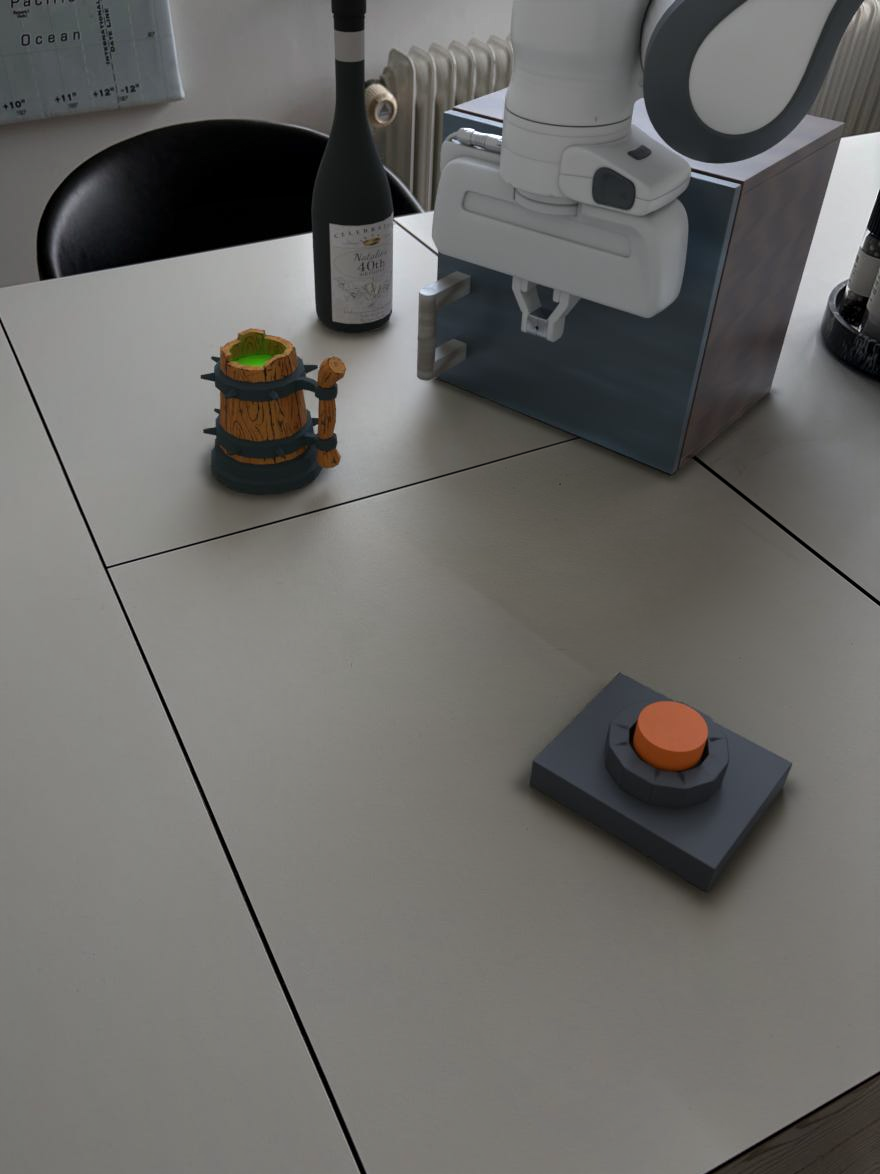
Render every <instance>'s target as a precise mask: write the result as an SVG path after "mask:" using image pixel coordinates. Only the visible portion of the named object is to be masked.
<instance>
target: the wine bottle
mask: <svg viewBox="0 0 880 1174" xmlns="http://www.w3.org/2000/svg"><path fill="white" fill-rule="evenodd" d="M330 1H331V3H330V9H331V14H332V19H333V40H334V41H333V42H334V69H335V70H334V73H335V75H334V76H335V77H334V78H335V106H334V115H333V120H332V126H331V129H330V133H329V136H328V138H327V139H328V140H327V143H326V147H325V148H324V152H323V154H322V157H321V160H320V164H319V167H318V170H317V172H316V177H315V180H314V185H313V190H312V199H311V209H310V210H311V211H310V213H311V237H312V256H313V257H312V258H313V279H314V280H313V281H314V302H315V312H316V316H317V319H318V321H320V322H321V323H322V324H323V326H325V327H327V328H328V329H330V330H333V331H336V332H339V333H345V334H362V333H363V334H364V333H367V332H368V333H370V332H372V331H375V330H379V329H380V328H382V327H383V326H385V325H386V324H387V323H388V322H389V320H390V318H391V316H392V313H393V301H394V299H393V297H394V295H393V293H394V288H393V287H394V205H393V204H394V203H393V197H392V191H391V186H390V182H389V179H388V175H387V172H386V170H385V167H384V164H383V161H382V159H381V156H380V153H379V151H378V147H377V145H376V142H375V138H374V136H373V133H372V130H371V126H370V123H369V118H368V112H367V106H366V81H365V80H366V78H365V77H366V74H365V73H366V72H365V71H366V68H365V66H366V65H365V64H366V61H365V56H366V55H365V53H366V52H365V50H366V49H365V44H366V42H365V40H366V38H365V37H366V36H365V33H366V32H365V28H366V26H365V23H366V22H365V21H366V20H365V19H366V15H365V14H367V0H330Z"/></svg>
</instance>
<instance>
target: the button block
mask: <svg viewBox="0 0 880 1174" xmlns="http://www.w3.org/2000/svg"><path fill="white" fill-rule="evenodd" d="M661 701H672V702H677V703H681V704H684V705H686V706H688V707H690V708H692V709H694V710H695V711H696V712H698V713H699V714H700V715H701V716H702V717H703V719H704V720H705V722H706V724H707V727H708V737H707V740H706V743H705V746H704V750H703V753H702V756H701V758H700V760H699V762H698V763H697V764H696V765H695V766H693V767H692V768H690V769H687V770H684V771H679V772H672V771H665V770H660V769H657V768H655V767H653V766H651V765H649V764H647V763H646V762H645V761H643V760H642V759H641V758H640V757H639V755H638V754H637V752H636V750H635V748H634V745H633V737H634V733H635V729H636V725H637V721H638V717H639V715H640V713H641V711H642V710H643V709H644V708H645V707H647V706H648V705H650V704H652V703H655V702H661ZM792 766H793V762H792V761H789V760H787V759H786V758H783V757H782V756H780V755H778V754H776V753H774V752H773V751H770V750H769V749H767V748H765V747H762V746H761V745H759V744H757V743H755V742H754V741H752V740H749V739H748V738H745V737H744V736H742V735H740V734H739V733H736V732H734V731H732V730H730V729H729V728H727V727H724V726H723V725H721V724H719V723H717V722H716V721H714V720H713V718H712V717H711V716H709V715H708V714H706V713H704V712H702V711H701V710H698V709H696V708H694V707H693V706H691V705H689V704H687V703H685V702H683V701H678V700H677V701H676V700H673V699H671V698H669V697H668V696H666V695H664V694H662V693H660V692H658V691H657V690H654V689H653V688H650V687H649V686H647V685H645V684H643V683H641V682H639V681H637V680H635V679H633V678H631V677H629V676H628V675H626V674H624V673H622V672H618V673H617V674H616V675H615V676H614V678H612V679H611V681H609V682H608V683H607V685H605V687H604V688H602V689H601V690H600V691H599V693H597V695H596V696H595V697H594V698H593V699H592V700H591V701H590V702H589V703H588V704H586V706H585V707H584V708H583V709H582V710H581V711H580V712H579V713H578V714H577V715H576V716H575V717H574V718H573V719H572V720H571V721H570V722H569V723H568V724H567V726H565V728H563V730H561V732H560V733H558V735H556V736H555V737H554V739H553V740H552V741H550V743H549V744H547V746H546V747H545V748H544V749H543V750H542V751H541V752H539V754H538V755H537V756H536V757H535V758H534V759H533V760H532V765H531V770H530V771H531V772H530V778H529V785H531V786H532V787H533V788H535V789H537V790H539V791H540V792H542V793H543V794H545V795H547V796H548V797H550V798H551V799H553V800H555V801H557V802H558V803H560V804H562V805H563V806H565V807H567V809H569V810H571V811H572V812H575V813H577V814H578V815H579V816H581V817H583V818H584V819H585V820H588V821H589V822H591V823H593V824H594V825H596V826H597V827H599V828H601V829H602V830H604V831H606V832H607V833H609V834H610V835H612V836H613V837H615V838H617V839H619V840H620V841H622V842H624V843H625V844H627V845H628V846H630V847H631V848H633V849H635V850H637V851H638V852H640V853H641V854H643V855H645V856H646V857H648V858H650V859H651V860H653V861H654V862H656V863H658V864H659V865H661V866H662V867H664V868H666V869H668V870H669V871H671V872H673V873H674V874H676V875H678V876H679V877H680V878H682V879H684V880H685V881H688V882H689V883H691V884H692V885H694V886H695V887H697V888H699V889H700V890H702V891H704V892H706V893H707V892H708V891H709V890H710V888H711V887H712V886H713V884H714V883H715V881H716V880H717V879H718V877H719V876H720V875H721V873H722V872H723V870H724V869H725V868H726V866H727V865H728V863H730V861H731V859H732V858H733V857H734V855H735V854H736V853H737V851H738V850H739V848H740V847H741V846H742V844H743V843H744V841H745V840H746V839H747V837H748V836H749V835H750V833H751V832H752V831H753V830H754V828H755V826H756V825H757V823H758V822H759V821H760V819H761V818H762V817H763V815H764V814H765V813H766V811H767V810H768V809H769V807H770V806H771V804H772V803H773V801H774V800H775V799H776V798H777V796H778V794H780V792H781V790H782V789H783V788H784V786H785V784H786V781H787V779H788V777H789V774H790V772H791V769H792Z"/></svg>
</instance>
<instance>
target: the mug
mask: <svg viewBox="0 0 880 1174" xmlns="http://www.w3.org/2000/svg"><path fill="white" fill-rule="evenodd" d="M210 360H212V361H213V362H215V365H214V366H213V372H210V373H204V374H200V380H205V381H210V382H214V387H215V388H216V389H217V390H218V391H219V408H216V407H215V408H214V409H213V412H214V413H216V414H218V415H217V417H216V418H215V426H213V427H209V428H204V429H202V433H203V434H207V435H212V436H215V439H214V447H213V448H212V449H211V452H210V453H211V455H210V466H211V472H212V473H213V475H214V476H215V478H216V479H217V481H218V482H219V483H220V484H222V485H224V486H226V487H228V488H230V489H232V490H233V491H236V492H239V493H241V492H242V493H246V494H251V495H252V494H253V495H256V496H257V495H279V494H283V493H287V492H291V491H293V490H297V489H300V488H302V487H303V486H305V485H308V483H310V482H311V481H313V480H315V479H316V478H317V476H319V473H320V472H321V470H322V469H330V468H335V467H337V466H339V464H340V462H341V459H342V456H341V454H340V452H339V450H338V449H337V447H338V443H339V442H338V436H337V433H335V428H336V423H337V405H336V403H337V402H336V399H337V397H338V393H339V390H338V389H339V388H338V387H339V386H338V383H337V382H339V381H340V380H342V379H344V377H345V375H346V371H347V367H346V364H345V362H344V361H343V360H342V359H341V358H340V357H337V356H334V355H333V356H329V357H325V358H324V359H323V360H322V362H321V363H320V366H319V365H318V364H305V363H304V360H303V358H301V357H300V356H299V355H298V354H297V350H296V346H295V345H294V344H293V343H292V342H291V341H290V340H288V339H287V338H282V337H281V336H277V335H270V334H266V331H265V329H259V328H253V327H252V328H251V327H250V328H248V329H245V330H243V331H240V332H238V333H237V338H235V339H232V340H231V341H228V342H226V343H225V344H224V345H220V346H219V356H214V355H211V357H210ZM316 370H318V372H317V380H315V379H314V378H311V377H307V374H308V373H312V372H313V371H316ZM304 391H308V392H311V393H313V394H314V397H315V398H316V399H318V406H317V407H318V411H317V417H312V414H311V411H310V410H309V409H308V408H307V405H306V399H305V395H304ZM316 426H317V433H315V428H314V427H316Z"/></svg>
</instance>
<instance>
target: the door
mask: <svg viewBox="0 0 880 1174" xmlns="http://www.w3.org/2000/svg"><path fill="white" fill-rule="evenodd" d="M460 128H471V129H474V130H476V131H477V132H480V133H485V134H495V135H499V136H502V129H503V123H500V122H496V121H492V120H488V119H484V118H480V117H476V116H472V115H469V114H465V113H461V112H457V111H453V110H452V109H449V110H445V111H443V113H442V136H441V139H442V140H441V145H442V144H443V142H444V141H445V139H446V138H447V137H448V136H449V135H450V134H452V133H454V132H458V130H459V129H460ZM453 140H457V138H454V139H453ZM741 186H742V185H741V184H737V183H733V182H729V181H725V180H721V179H717V178H713V177H710V176H706V175H702V174H698V173H694V172H691V177H690V181H689V185H688V187H687V188H686V190H685V191H684V192H683V193H682V194H681V195H679V196H678V197H677V199H678V200H679V201H680V202H681V203H682V205H683V206H684V208H685V210H686V213H687V218H688V243H687V253H686V262H685V269H684V275H683V280H682V285H681V289H680V292H679V295H678V296H677V298H676V299H675V300H674V302H673V303H671V304H670V305H669V306H668V307H667V308H665V309H664V310H663V311H661V312H659V313H658V314H656V315H655V316H653V317H651V318H644V317H640V316H637V315H634V314H631V313H628V312H625V311H622V310H619V309H615V308H612V307H609V306H606V305H603V304H600V303H596V302H593V301H590V300H587V299H584V298H581V299H580V300H579V301H578V302H577V304H576V305H575V306H574V307H573V308H572V310H571V311H570V312H569V313H568V315H567V316H565V323H564V330H563V334H562V336H561V337H560V338H559V339H558V340H556V341H555V342H551V341H548V340H545V339H542V338H540V337H537V336H534V335H531V334H527V333H524V332H522V331H521V324H522V313H523V312H521V310H520V307H519V305H518V302H517V300H516V297H515V295H514V292H513V290H512V281H513V276H511V275H508V274H505V273H502V272H498V271H495V270H492V269H489V268H486V267H483V266H479V265H476V264H473V263H470V262H467V261H464V260H461V259H457V258H454V257H451V256H448V255H445V254H442V253H440V252H439V251H438V250H437V266H436V268H437V269H436V270H437V273H436V281H434V282H432V283H430V284H428V285H425V286H424V287H422V288H420V289H419V291H418V311H417V312H418V313H417V314H418V316H417V350H416V351H417V353H416V354H417V357H416V377H417V379H419V380H421V381H431V380H433V379H435V378H437V379H439V380H442V381H444V382H447V383H449V384H451V385H454V386H456V387H459V388H462V389H463V390H465V391H468V392H471V393H473V394H476V395H478V396H481V397H482V398H485V399H488V400H490V401H492V402H495V403H497V404H499V405H502V406H504V407H507V408H509V409H512V410H514V411H516V412H518V413H521V414H524V415H526V416H529V417H531V418H533V419H536V420H538V421H541V422H543V423H545V424H548V425H550V426H553V427H555V428H558V429H560V430H563V431H566V433H567V432H568V433H570V434H572V435H574V436H577V437H579V438H582V439H585V440H587V441H589V442H591V443H594V444H596V445H599V446H602V447H604V448H606V449H609V450H611V451H614V452H616V453H618V454H621V455H623V456H625V457H628V458H631V459H632V460H635V461H637V462H640V463H643V464H645V465H647V466H650V467H652V468H655V469H657V470H660V471H661V472H664V473H667V474H669V475H673V474H674V473H675V472H676V471H677V468H678V463H679V459H680V454H681V450H682V446H683V441H684V437H685V432H686V428H687V424H688V419H689V415H690V410H691V406H692V402H693V397H694V393H695V388H696V384H697V380H698V375H699V371H700V366H701V362H702V358H703V353H704V349H705V344H706V340H707V336H708V331H709V327H710V322H711V318H712V314H713V309H714V305H715V300H716V296H717V292H718V287H719V283H720V278H721V274H722V270H723V265H724V261H725V257H726V252H727V248H728V243H729V239H730V235H731V230H732V226H733V221H734V217H735V213H736V208H737V204H738V199H739V195H740V191H741ZM536 290H537V293H538V297H539V300H540V303H541V307H543V308H546V309H549V310H552V311H554V310H555V309H556V307H557V306H558V305H559V302H558V303H557V302H554V301H553V293H554V289H552V288H549V287H546V286H543V285H540V284H538V285H536Z"/></svg>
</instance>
